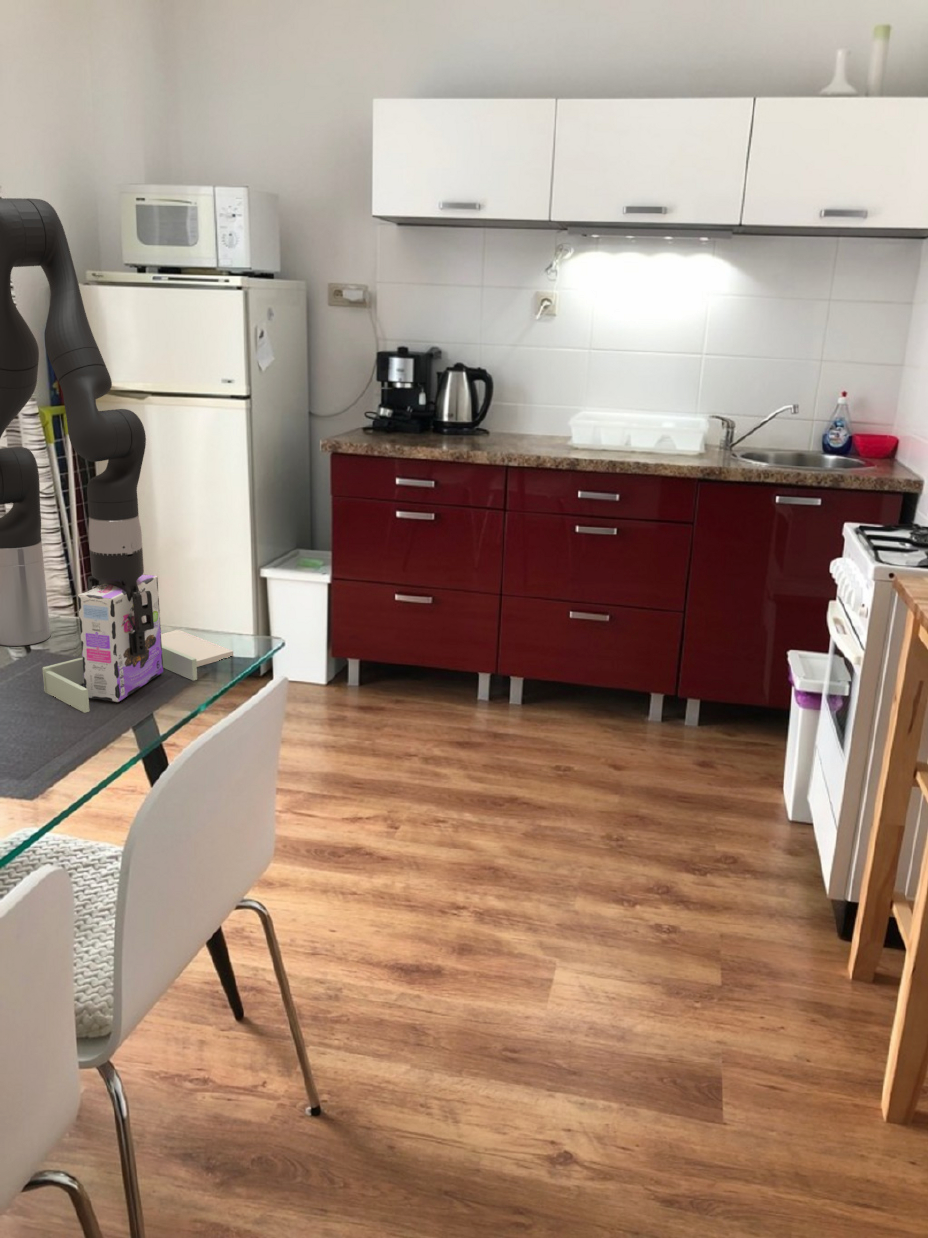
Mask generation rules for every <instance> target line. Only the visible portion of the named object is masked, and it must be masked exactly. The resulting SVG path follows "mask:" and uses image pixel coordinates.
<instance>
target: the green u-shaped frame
mask: <svg viewBox="0 0 928 1238" xmlns="http://www.w3.org/2000/svg"><path fill="white" fill-rule="evenodd" d="M162 658H163V669H166V670H168V671H170V672H172V673H175V674H177V675H178V676H182V677H184V678H187V679H188V680H191V681H197V680H198V670H197V669H198V667H197V662H196V659H195V658H193V657H191V656H188V655H186V654H183V653H181V652H178V651H176V650H174V649H171V648H169V647H166V646H164V645H162ZM42 677H43V687H44V688H43V689H44V693H46V694H48V695H50V696H52V697H53V696H54V698H55V697H56V700H59V701H62V702H63V703H65V704H66V705H69V706H70V705H71V707H72V708H75V709H76V710H78V711H80V712H82V713H83V714H85V713H89V712H91V710H90V700H89V699H90V698H89V697H88V689H86V688H85V687H84V686H82V684H84V672H83V657H78V658H75V659H74V658H73V659H71V660H67V661H63V662H58V663H55V664H51V665H47V666H43V667H42Z"/></svg>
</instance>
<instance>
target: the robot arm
mask: <svg viewBox="0 0 928 1238" xmlns="http://www.w3.org/2000/svg"><path fill="white" fill-rule="evenodd" d="M64 229H65V228H64V226H63V223H62V221H61V219H60V216H59V215H58V213H57V211H56V209H55V208H54V207H53V206H52V205H51V204H50V203H49V202H48V201H46V200H44V199H41V198H26V197H25V198H24V197H23V198H18V197H17V198H10V197H9V198H2V197H1V198H0V439H1V438H2V436H3V434H4V432H5V431H6V429H7V427H8V426H9V425H10V424H11V423H12V421H13V420H14V419H15V418H16V417H17V416H18V415H19V414H20V412H21V411H23V409H24V407H25V406H26V405H27V404H28V402H29V401H30V400H31V397H32V396H33V395H34V392H35V391H36V386H37V384H38V373H39V372H38V371H39V361H40V349H39V345H38V342H37V340H36V337H35V335H34V333H33V331H32V330H31V328H30V326H29V325H28V323H27V321H26V320H25V319H24V317H23V316H22V314H21V312H20V311H19V309H18V307H17V305H16V303H15V302H14V299H13V295H12V288H11V287H12V286H11V282H12V281H11V279H12V270H13V268H21V267H26V268H27V267H41V269H42V270H43V273H44V274H45V277H46V279H47V282H48V287H49V290H50V300H49V308H48V312H47V313H48V314H47V319H46V323H45V330H44V346H45V351H46V354H47V356H48V360H49V362H50V365H51V368H52V370H53V372H54V374H55V377H56V379H57V382H58V385H59V387H60V388H61V389H60V390H61V391H62V395H63V403H64V411H65V417H66V424H67V425H66V426H67V434H68V438H69V442H70V444H71V446H72V448H73V449H74V451H75V452H76V453H77V454H78V455H79V456H80V457H81V458H82V459H84V460H86V461H87V462H92V463H94V462H97V463H98V462H103V461H107V463H106V467H105V469H104V471H103V472H101V473H99V474H98V475H95V476H93V477H91V479H89V480H88V483H87V485H86V486H87V487H86V494H87V508H88V509H87V511H88V545H89V558H90V560H89V561H90V570H91V575H90V576H88V577H87V591H89V590H91V589H93V588H95V587H98V586H100V585H102V584H110V585H113V586H116V587H118V588H120V589H122V590H124V591H125V592H126V594H127V598H128V600H129V602H130V600H131V598H132V597H133V601H132V604H133V608H134V611H133V612H130V614H129V615H128V617H127V618H128V629H129V632H130V633H129V643H130V654H131V655H132V656H135V657H136V656H139V655H143V654H144V653H145V649H146V648H145V631H146V630H151V629H153V628H154V622H153V609H152V596H151V592H150V591H143V592H142V591H139V588H138V585H137V579H138V578H139V577H141V576H142V575H144V573H145V572H144V571H145V570H144V569H145V568H144V567H145V566H144V555H143V554H144V553H143V538H142V536H143V535H142V527H141V523H140V516H139V503H138V501H139V499H138V484H139V480H140V476H141V472H142V471H141V470H142V467H143V463H144V462H143V461H144V457H145V453H146V445H147V442H146V441H147V438H146V437H147V436H146V430H145V427H144V424H143V422H142V420H141V419H140V417H139V415H137V414H136V412H134V411H132V410H131V409H128V408H116V409H108V410H107V409H106V410H105V409H104V410H99V409H98V407H97V403H96V402H97V400H98V399H100V398H102V397H104V396H105V395H107V394H108V393H109V392H110V391H111V389H112V387H113V384H112V383H113V382H112V378H111V375H110V373H109V369H108V368H107V365H106V362H105V361H104V358H103V356H102V353H101V351H100V349H99V346H98V343H97V341H96V339H95V336H94V334H93V332H92V329H91V326H90V322H89V320H88V317H87V313H86V309H85V305H84V301H83V297H82V293H81V288H80V285H79V280H78V277H77V272H76V270H75V265H74V261H73V256H72V254H71V251H70V246H69V241H68V238H67V235H66V232H65V230H64ZM40 486H41V485H40V473H39V468H38V463H37V460H36V457H35V455H34V453H33V452H32V450H30V449H29V448H27V447H24V446H15V447H14V446H13V447H0V505H8V504H9V505H10V504H12V507H11V509H10V510H9V511H7V512H6V513H5V514H4V515H2V516H1V517H0V645H1V646H8V647H9V646H10V647H13V646H14V647H16V646H17V647H18V646H19V647H20V646H28V645H34V644H39V643H41V642H44V641H46V640H47V639H49V638H50V636H51V629H50V617H49V604H48V596H47V595H48V594H47V584H46V574H45V563H44V562H45V561H44V553H43V541H42V516H41V515H42V514H41V494H40V493H41V488H40ZM143 616H146V622H145V619H144V617H143ZM132 618H134V620H135V625H134V623H133V621H132Z"/></svg>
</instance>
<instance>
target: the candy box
mask: <svg viewBox="0 0 928 1238" xmlns="http://www.w3.org/2000/svg"><path fill="white" fill-rule="evenodd" d="M137 585H138V588H139V591H142V592H143V591H150V592H151V596H152V609H153V622H154V628H153V629H151V630H146V631H145V648H146V649H145V653H144V654H143V655H139V656H136V657H135V656H132V655H131V654H130V643H129V633H130V632H129V629H128V618H127V617H128V615H129V614H130V612H133V611H134V608H133V604H132V601H133V597H132V598H131V600H130V602H129V600H128V598H127V594H126V592H125V591H124V590H122V589H120V588H118V587H116V586H113V585H110V584H102V585H100V586H98V587H95V588H93V589H91V590H89V591H88V590H87V591H85V592H82V593H78V595H77V601H78V602H77V603H78V616H79V617H78V619H79V631H80V645H81V656H82V657H83V672H84V683H83V684H84V686H83V687H84V688H86V689H88V698H89V699H97V700H103V701H110V702H115V703H119V702H120V701H123V700H124V699H125V698H126V697H128V696H129V695H131V694H133V693H134V692H136V691H137V690H138V689H140V688H142V687H143V686H145V685H146V684H147V683H149V682H150V681H152V680H153V679H155V678H157V677H158V676H159V675H161V674H163V673H164V668H163V658H162V642H161V634H162V629H161V614H160V613H161V612H160V611H161V609H160V598H159V597H160V595H159V577H158V575H151V574H143V575H142V576H141V577H139V578H138V579H137ZM143 617H144V619H145V622H146V616H143ZM132 621H133V623H134V625H135V620H134V618H132ZM82 657H81V658H82Z"/></svg>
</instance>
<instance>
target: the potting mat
mask: <svg viewBox="0 0 928 1238" xmlns="http://www.w3.org/2000/svg"><path fill="white" fill-rule="evenodd" d="M161 642H162V645H164V646H166V647H169V648H171V649H174V650H176V651H178V652H181V653H183V654H186V655H188V656H191V657H193V658H195V659H196V662H197V668H198V667H201V666H204V665H205V666H206V665H209V664H212V663H215V662H219V660H220V661H222V660H221V659H223V658H227V659H229V658H228V657H230V656H233V657H234V650H231V649H229V648H226V647H223V646H222V645H219V644H216V643H213V642H211V641H209V640H206V639H204V638H201V637H198V636H195V635H193V634H190V633H189V632H185V631H182V630H180V629H175V630H172V631H167V632H164V633H161ZM230 658H231V657H230ZM223 660H224V659H223Z"/></svg>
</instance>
